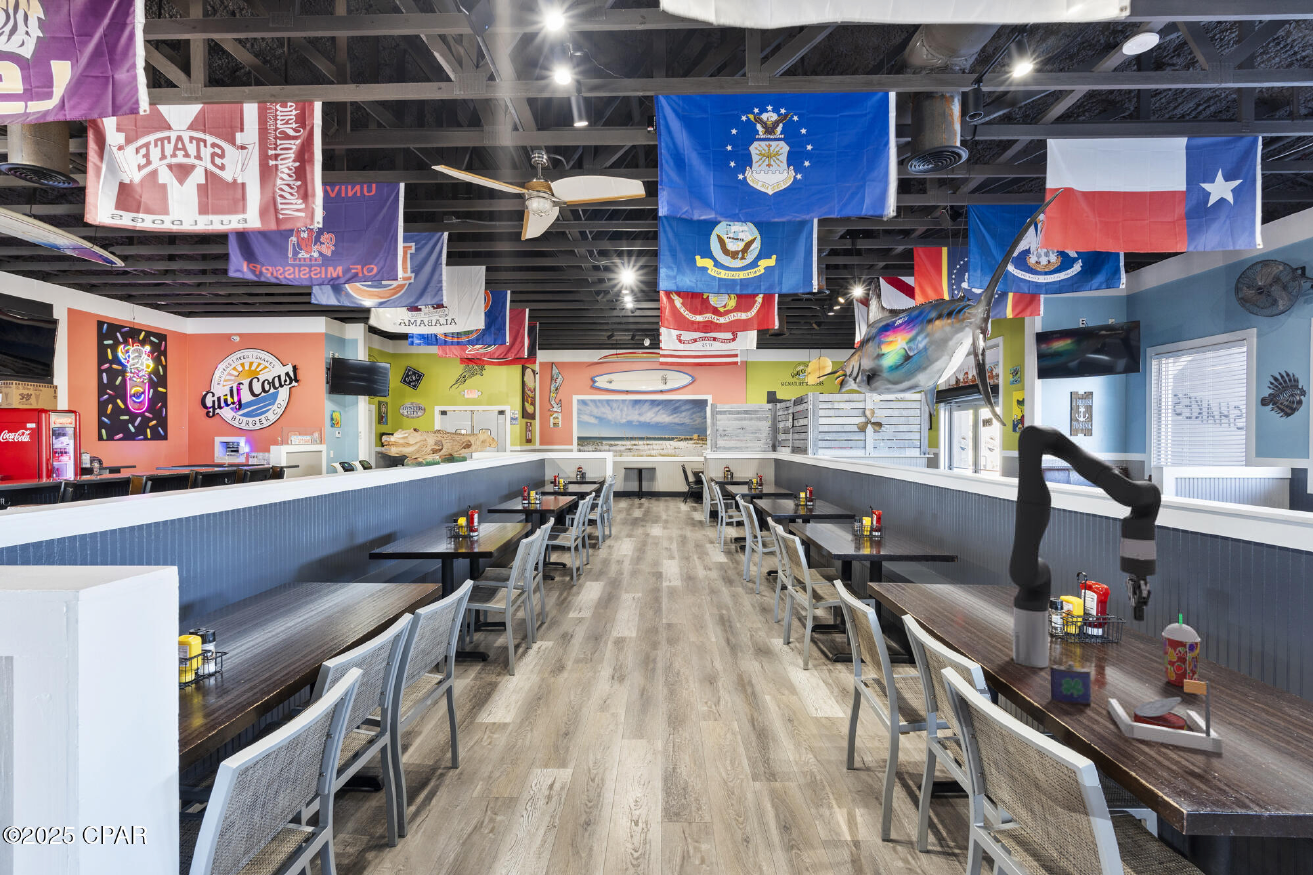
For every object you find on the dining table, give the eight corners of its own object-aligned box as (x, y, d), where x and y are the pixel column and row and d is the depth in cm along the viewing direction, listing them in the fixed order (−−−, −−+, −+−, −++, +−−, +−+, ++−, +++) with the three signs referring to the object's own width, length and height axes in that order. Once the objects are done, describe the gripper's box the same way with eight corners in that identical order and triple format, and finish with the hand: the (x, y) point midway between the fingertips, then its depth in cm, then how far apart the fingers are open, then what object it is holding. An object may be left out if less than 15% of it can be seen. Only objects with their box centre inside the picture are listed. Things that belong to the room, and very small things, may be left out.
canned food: (1170, 757, 137) (1159, 723, 136) (1127, 732, 147) (1116, 700, 145) (1206, 732, 139) (1195, 698, 137) (1161, 709, 149) (1150, 677, 147)
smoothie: (1208, 690, 164) (1207, 619, 165) (1174, 688, 166) (1173, 617, 167) (1188, 679, 173) (1187, 611, 173) (1155, 677, 174) (1154, 609, 175)
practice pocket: (1125, 736, 138) (1124, 671, 138) (1108, 709, 152) (1107, 651, 152) (1222, 752, 130) (1220, 685, 131) (1194, 723, 144) (1193, 662, 145)
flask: (1088, 702, 157) (1088, 661, 157) (1093, 706, 154) (1093, 665, 154) (1049, 698, 159) (1048, 658, 159) (1053, 702, 156) (1052, 662, 156)
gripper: (1114, 550, 165) (1114, 612, 165) (1127, 558, 153) (1127, 624, 153) (1147, 552, 161) (1148, 615, 161) (1164, 560, 150) (1164, 629, 149)
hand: (1138, 620), depth 157 cm, fingers closed
